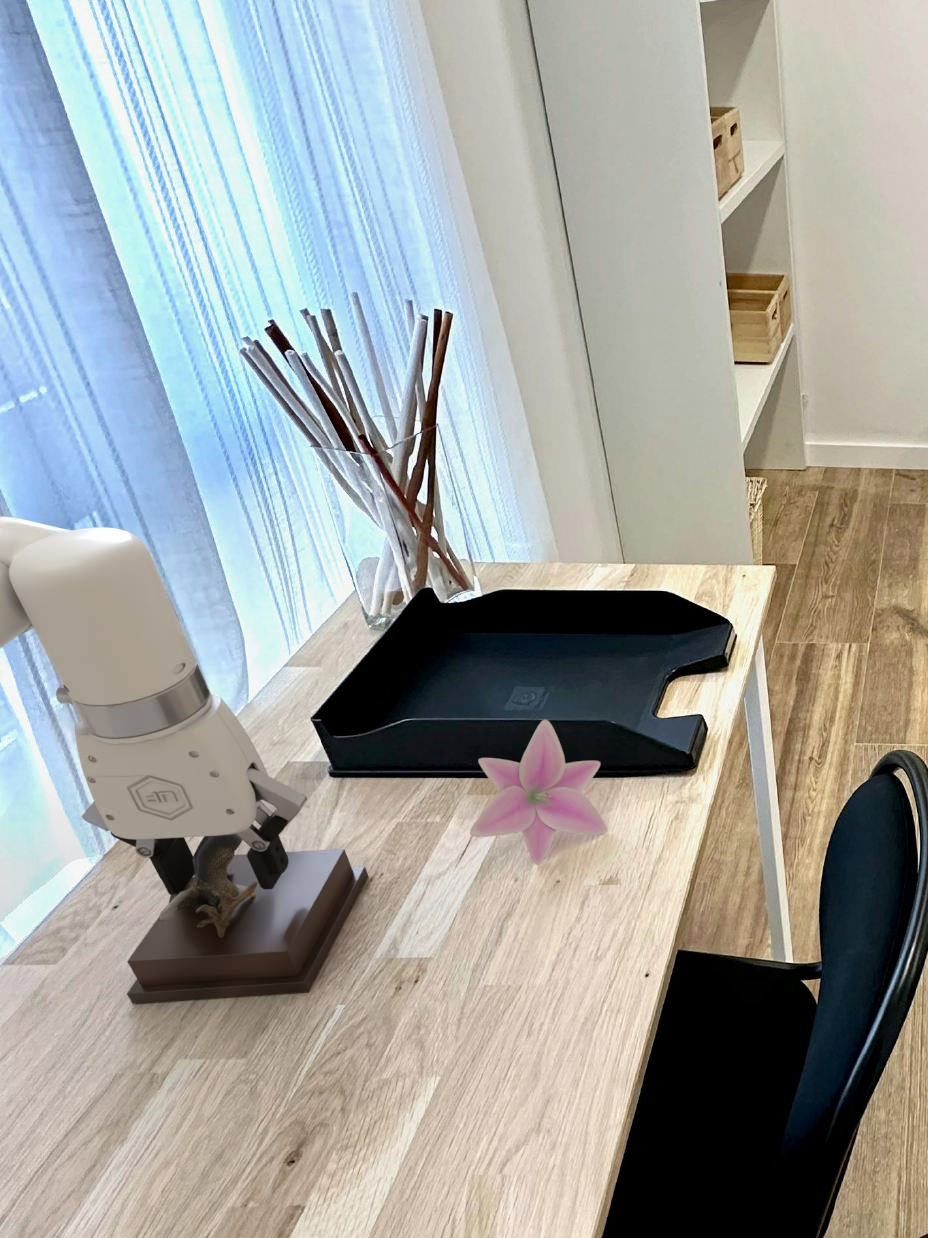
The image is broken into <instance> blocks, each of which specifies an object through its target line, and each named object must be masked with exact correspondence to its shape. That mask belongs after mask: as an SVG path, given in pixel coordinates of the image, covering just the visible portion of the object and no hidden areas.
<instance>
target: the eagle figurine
mask: <svg viewBox="0 0 928 1238" xmlns="http://www.w3.org/2000/svg"><path fill="white" fill-rule="evenodd" d="M202 837H203V838H202V839H201V841H200V842H199V844H198V845H197V848H196V850H195V852H194V853H193V865H194V872H195V876H193V877H192V878H191V880H190V881H189V883H188V884H187V885H186V887H185V888H184V890H183V891H182V892H180V893H179V894H177V895H170V896H169V900H168V904H167V905H166V906H165V907H164V908H163V910H161V911H160V912H159V916H160V920H163V921H169V920H171V919H172V918H174V917H175V916H176V915H177V914H178V913H180V912H181V911H182V910H183V909H184V908H185V907H187V906H194V907H196V908H198V909H197V910H196V913H198V912H200V911H202V912H203V913H204V914H205V915H207V916H208V918H209V919H207V920H203V921H201V922H200V923H199V924H198V925H197V927H204V926H205V925H206V924H208V923H214V924H215V926H216V927H217V931H218V936H219V937H220V938H223V937H224V933H225V930H226V927H228V926H229V921H231V918H230V917H231V914H232V913H233V912H234V909H235V907H237V906H238V905H239V904H240V903H241V902H242V901H243V900H244V899H246V898H247V897H248V896H250V897H255V894H254V893H253V892H254V891H255V889H256V886H257V884H258V882H257V881H254V882H253V883H252V884H251V885H250V886H249V887H245V886H241V885H236V884H232V883H231V882H230V881H229V880H228V879H227V873H228V872H229V871H230V870H232V868H228V869H227V867H228V865H229V863H230V862H231V861H232V859H233V857H234V855H235V852H236V850H237V849H238V848H239V847H240V845H241V844H242V841H243V840H242V839H241V838H240V837H239V836H238V835H237V834H230V835H218V836H202Z"/></svg>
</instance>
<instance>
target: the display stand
mask: <svg viewBox="0 0 928 1238" xmlns="http://www.w3.org/2000/svg"><path fill="white" fill-rule="evenodd" d="M285 852H286V854H287V856H288V860H289V862H288V866H287V868H286V870H285V871H284V873H282V874H281V876H280V878H279V879H278V881H277V883H276V884H275V886H274V887H273V889H265V890H264V889H263V888H261V886H260V884H259V882H258V880H257V878H256V875H255V873H254V871H253V869H252V867H251V864H250V862H249V860H248V858H247V853H246V854H234V857H233V859H232V861H231V862H230V863H229V865H228V867H227V869H228V868H232V870H230V871H229V872H228V873H227V879H228V880H229V881H230V882H231V883H232V884H236V885H241V886H245V887H249V886H250V885H251V884H252V883H253V882H254V881H257V882H258V884H257V886H256V889H255V891H254V892H253V893H254V894H255V897H250V896H248V897H247V898H246V899H244V900H243V901H242V902H241V903H240V904H239V905H238V906H237V907H235V909H234V912H233V913H232V914H231V917H230V918H231V921H229V926H228V927H226V930H225V933H224V937H223V938H220V937H219V936H218V931H217V927H216V926H215V924H214V923H208V924H206V925H205V926H204V927H197V925H198V924H199V923H200V922H201V921H203V920H207V919H209V918H208V916H207V915H205V914H204V913H203V912H202V911H200V912H198V913H196V910H197V909H198V908H196V907H194V906H187V907H185V908H184V909H183V910H182V911H181V912H180V913H178V914H177V915H176V916H175V917H174V918H172V919H171V920H169V921H163V920H160V915H159V916H158V918H157V919H156V920H155V922H154V923H153V924H152V926H151V927H150V929H149V930H148V931H147V933H146V934H145V936H144V937H143V938H142V940H141V941H140V942H139V944H138V945H137V946H136V948H135V950H134V951H133V953H132V954H131V955H130V957H129V958H128V960H127V964H128V966H129V967H130V969H131V971H132V972H133V974H134V976H135V978H136V980H135V981H134V982H133V984H132V985H131V987H130V988H129V990H128V991H127V993H126V996H127V997H128V998H129V1000H130V1002H131V1004H132V1005H140V1004H153V1003H169V1002H182V1001H183V1002H185V1001H198V1000H199V1001H200V1000H213V999H227V998H241V997H242V998H244V997H257V996H258V997H260V996H273V995H286V994H287V995H289V994H303V993H309V992H310V991H311V988H312V987H313V984H314V983H315V981H316V979H317V978H318V975H319V973H320V971H321V969H322V967H323V965H324V963H325V961H326V960H327V957H328V956H329V954H330V952H331V950H332V948H333V946H334V944H335V942H336V941H337V939H338V936H339V934H340V932H341V930H342V929H343V926H344V924H345V923H346V921H347V919H348V917H349V915H350V913H351V911H352V909H353V907H354V905H355V903H356V901H357V899H358V897H359V896H360V894H361V892H362V890H363V888H364V886H365V884H366V882H367V880H368V878H369V874H368V871H367V868H366V866H352V865H351V862H350V860H349V858H348V855H347V852H346V850H345V848H339V849H321V850H320V849H318V850H302V851H285ZM193 876H195V874H194V875H193Z"/></svg>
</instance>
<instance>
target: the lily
mask: <svg viewBox="0 0 928 1238" xmlns="http://www.w3.org/2000/svg"><path fill="white" fill-rule="evenodd" d="M477 762H478V764H479V766H480V768H481V769H482V771H483V772H484V774H485V775H486V777H487V778H488V779H489V781H490V782H491V783H492V784H493V785H494V786H495V788H496V789H497V790H498V791H499V793H498V794H497V795H496V796H495V797H494V799H492V801H491V802H490V803H489V805H487V807H486V808H485V809H484V810H483V811H482V813H480V815H479V816H478V818H477V819H476V820H475V822H474V823H473V825H472V826H471V828H470V830H469V835H470V836H471V837H474V838H486V837H497V836H503V835H504V836H505V835H511V834H516V833H519V832H522V836H523V839H524V842H525V845H526V848H527V851H528V853H529V855H530V858H531V859H532V861H533V863H534V864H535V865H536V866H540V865H541V863H543V860H544V859H546V856H547V854H548V852H549V851H550V848H551V846H552V843H553V842H554V839H555V835H556V833H557V831H559V832H563V833H569V834H570V833H571V834H580V835H591V836H601V835H605V834H607V833H608V827H607V825H606V823H605V820H604V819H603V817H602V816H601V814H600V812H599V811H598V810H597V809H596V807H595V806H594V804H593V803H592V802H591V801H590V799H589V798H588V797H587V796H586V795H585V794H584V793H582V791H583V789H585V788H586V786H588V784H589V783H590V781H591V780H592V779H593V778H594V776H595V775H596V773H597V772H598V771H599V769H600V767H601V761H599V760H580V761H572V762H566V758H565V754H564V751H563V748H562V745H561V743H560V740H559V737H558V734H557V733H556V730H555V728H554V726H553V725H552V723H551V722H550V721H549V720H548V719H546V718H545V719H542V720H541V721H540V723H539V724H538V725H537V727H536V728H535V730H534V733H533V735H532V737H531V738H530V739H529V742H528V744H527V746H526V749H525V750H524V752H523V755H522V757H521V760H520V761H519V762H517V761H513V760H511V759H510V760H509V759H502V758H496V757H495V758H494V757H481V758H480V757H479V758H478V761H477Z"/></svg>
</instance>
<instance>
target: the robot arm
mask: <svg viewBox="0 0 928 1238" xmlns="http://www.w3.org/2000/svg"><path fill="white" fill-rule="evenodd" d="M32 630H34V631H35V634H36V635H37V637H38V640H39V641H40V643H41V645H42V647H43V649H44V650H45V653H46V655H47V656H48V658H49V660H50V662H51V664H52V666H53V668H54V670H55V672H56V674H57V676H58V678H59V679H60V681H61V683H62V685H59V686H58V687H57V689H56V692H55V697H56V700H57V702H58V703H59V704H65V705H67V704H69V705H72V706H74V708H75V710H76V712H77V714H78V716H79V718H80V720H79V721H78V722H77V724H76V725H75V727H74V736H75V742H76V749H77V754H78V757H79V758H78V759H79V763H80V766H81V769H82V773H83V776H84V779H85V781H86V785H87V788H88V789H89V792H90V795H91V796H92V799H93V802H92V803H91V804H90V805H89V807H88V808H87V809H86V810H85V811H84V812H83V814H82V815H81V817H82V819H83V820H84V821H85V822H87V823H89V824H91V825H93V826H95V827H97V828H99V829H102V830H103V831H106V832H108V831H109V832H110V834H111V836H112V837H113V838H116V839H117V840H119V841H121V842H124V843H126V844H127V845H130V846H132V847H134V848H135V853H136V854H137V856H139V857H142V858H145V859H147V858H148V859H149V860H150V863H152V866H153V867H154V870H155V871H156V873H157V875H158V877H159V879H161V881H162V883H163V885H164V887H165V889H166V891H167V893H168V895H170V896H171V895H177V894H179V893H180V892H182V891H183V890H184V888H185V887H186V885H187V884H188V883H189V881H190V880H191V878H192V877H193V875H194V874H195V872H194V865H193V856H194V854H193V852H192V851H191V849H190V847H189V845H188V843H187V840H186V838H196V837H197V838H198V837H199V838H201V837H204V836H218V835H230V834H237V835H238V836H239V837H240V838H241V839H242V841H243V842H244V843H245V844H246V845H248V846H249V847H250V848H249V849H248V851H247V852H246V854H247V858H248V860H249V862H250V864H251V867H252V869H253V871H254V873H255V875H256V878H257V880H258V882H259V884H260V886H261V888H263V889H264V890H265V889H273V887H274V886H275V884H276V883H277V881H278V879H279V878H280V876H281V874H282V873H284V871H285V870H286V868H287V866H288V862H289V860H288V856H287V854H286V852H287V851H286V850H285V846H284V845H283V842H282V840H281V838H280V836H279V835H280V834H281V833H282V832H283V831H284V830H285V828H286V827H287V826H288V824H289V823H291V822H292V821H293V819H295V817H296V816H297V815H298V814H299V813H300V812H301V810H302V809H303V807H304V806H305V804H306V802H307V800H308V798H307V796H306V795H305V794H304V793H302V792H300V791H298V790H296V789H295V788H292V787H291V786H288V785H286V784H285V783H283V782H281V781H279V780H277V779H275V778H273V777H271V776H269V774H268V771H267V769H266V767H265V765H264V761H262V759H261V756H260V754H259V753H258V751H257V749H256V747H255V745H254V743H253V742H252V740H251V738H250V736H249V734H248V732H247V731H246V729H245V728H244V726H243V725H242V723H241V722H240V720H239V719H238V718H237V716H236V715H235V713H234V712H233V711H232V709H231V708H230V706H229V705H228V704H227V703H226V702H225V700H224V699H223V698H222V697H221V695H218V694H212V692H211V690H210V688H209V685H208V683H207V681H206V678H205V676H204V674H203V671H202V669H201V667H200V664H199V662H198V660H197V658H196V655H195V653H194V650H193V649H192V646H191V644H190V642H189V639H188V637H187V634H186V632H185V630H184V628H183V625H182V623H181V620H180V618H179V617H178V613H177V612H176V609H175V607H174V604H173V602H172V599H171V598H170V595H169V593H168V590H167V588H166V586H165V584H164V581H163V579H162V577H161V575H160V572H159V569H158V567H157V565H156V562H155V561H154V558H153V556H152V554H151V551H150V550H149V548H148V547H147V545H146V544H145V543H144V541H143V540H141V539H140V537H138V536H136V535H135V534H133V533H131V532H129V531H127V530H123V529H121V528H115V527H108V526H107V527H105V526H103V527H101V526H100V527H98V526H97V527H86V528H78V529H67V528H61V527H57V526H54V525H50V524H44V523H40V522H36V521H32V520H27V519H23V518H18V517H10V516H0V649H2V648H3V647H4V646H6V645H7V644H9V643H10V642H11V641H13V640H14V639H16V638H17V637H19V636H21V635H24V634H25V633H27V632H29V631H32ZM262 801H264V802H266V803H268V804H270V805H272V806H273V807H275V808H276V809H275V810H274V811H272V810H270V809H269V808H268V806H266V804H265V803H263V802H262ZM254 822H256V823H257V824H258V825H259V826H260V827H259V828H258V827H256V826H255V825H254V824H253V823H254Z"/></svg>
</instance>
